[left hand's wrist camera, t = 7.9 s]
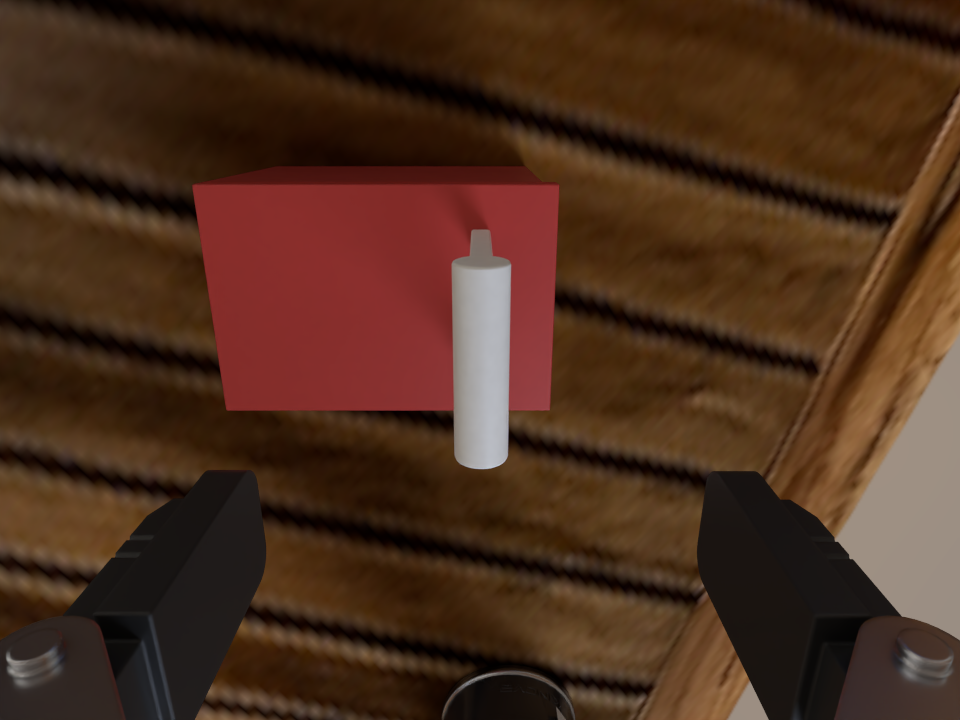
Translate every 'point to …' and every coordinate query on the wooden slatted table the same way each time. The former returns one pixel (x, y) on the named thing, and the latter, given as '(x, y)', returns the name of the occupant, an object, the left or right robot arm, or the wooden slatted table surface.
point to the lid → (385, 298)
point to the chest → (386, 174)
